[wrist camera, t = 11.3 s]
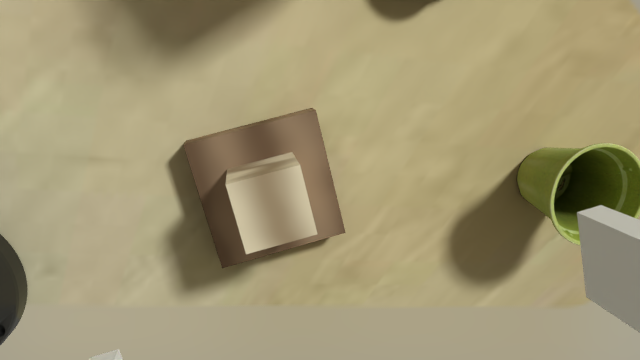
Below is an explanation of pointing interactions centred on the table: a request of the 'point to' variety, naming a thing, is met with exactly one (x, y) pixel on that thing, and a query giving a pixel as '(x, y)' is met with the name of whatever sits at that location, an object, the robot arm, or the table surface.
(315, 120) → the stand
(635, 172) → the plant pot
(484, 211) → the table surface
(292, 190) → the cube
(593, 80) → the table surface
